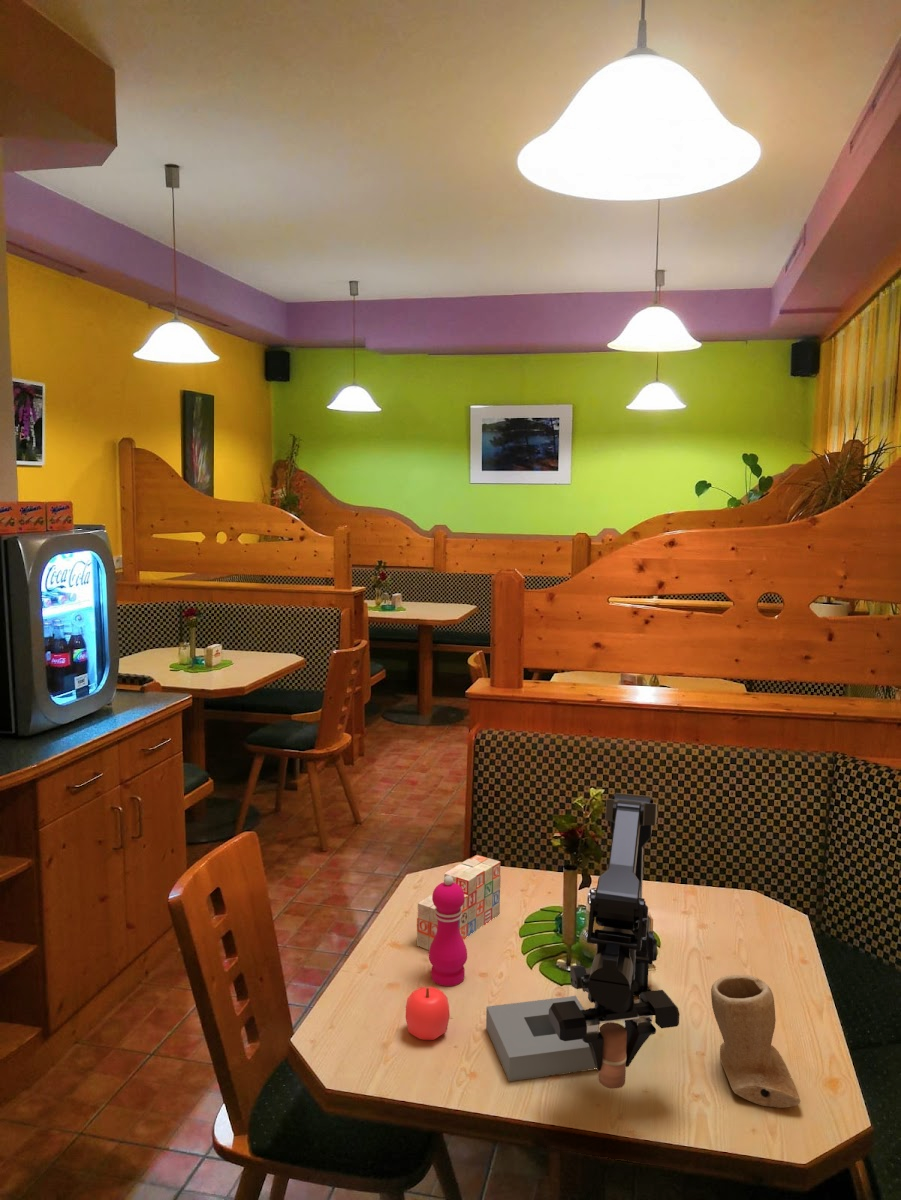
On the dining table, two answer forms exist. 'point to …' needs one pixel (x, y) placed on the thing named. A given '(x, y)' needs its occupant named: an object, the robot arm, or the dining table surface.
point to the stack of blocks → (479, 903)
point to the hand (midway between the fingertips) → (612, 1067)
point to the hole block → (534, 1041)
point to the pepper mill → (448, 935)
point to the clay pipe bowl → (751, 1041)
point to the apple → (427, 1013)
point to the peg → (613, 1055)
